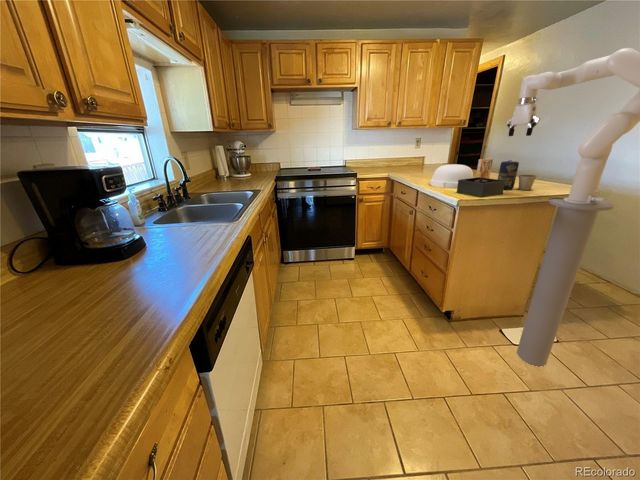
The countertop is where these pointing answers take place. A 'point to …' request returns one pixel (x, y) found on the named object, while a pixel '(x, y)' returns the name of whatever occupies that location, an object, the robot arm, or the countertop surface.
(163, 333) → the countertop surface
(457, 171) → the dome cover
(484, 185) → the dark gray open box
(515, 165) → the canister
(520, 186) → the flower pot
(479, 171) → the candy box
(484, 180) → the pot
